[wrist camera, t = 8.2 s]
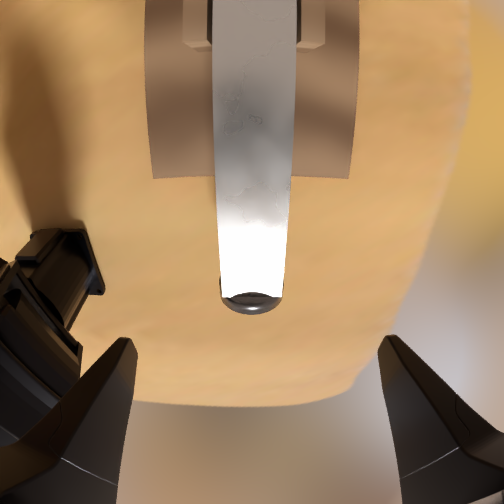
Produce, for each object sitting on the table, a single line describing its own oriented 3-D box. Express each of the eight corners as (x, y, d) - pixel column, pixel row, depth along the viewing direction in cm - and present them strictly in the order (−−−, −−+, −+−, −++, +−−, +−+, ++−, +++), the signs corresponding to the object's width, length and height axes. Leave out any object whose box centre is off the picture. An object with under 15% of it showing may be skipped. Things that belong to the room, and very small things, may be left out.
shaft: (279, 272, 19) (285, 314, 16) (222, 273, 19) (218, 314, 15) (290, -32, 8) (303, -61, 5) (216, -33, 8) (206, -63, 5)
